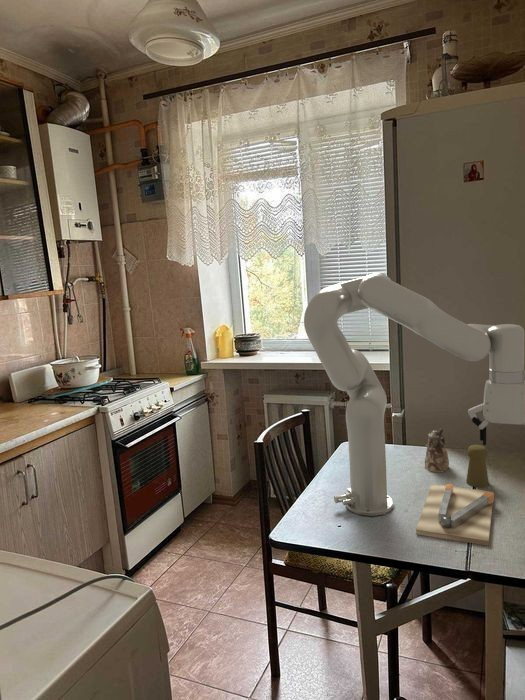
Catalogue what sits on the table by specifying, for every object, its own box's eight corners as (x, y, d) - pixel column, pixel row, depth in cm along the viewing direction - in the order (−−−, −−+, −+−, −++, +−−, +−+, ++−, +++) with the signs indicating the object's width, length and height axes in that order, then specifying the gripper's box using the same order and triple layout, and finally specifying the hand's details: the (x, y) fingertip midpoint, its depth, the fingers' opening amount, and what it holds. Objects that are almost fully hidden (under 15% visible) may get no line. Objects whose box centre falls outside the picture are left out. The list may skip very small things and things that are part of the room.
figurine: (419, 465, 165) (419, 429, 163) (438, 461, 167) (438, 425, 165) (434, 473, 158) (433, 435, 156) (453, 469, 160) (453, 431, 158)
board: (488, 545, 119) (488, 540, 119) (416, 534, 126) (415, 529, 126) (493, 495, 142) (493, 491, 142) (431, 488, 149) (431, 484, 149)
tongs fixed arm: (445, 522, 127) (445, 514, 127) (437, 521, 128) (437, 513, 128) (453, 491, 143) (453, 484, 142) (446, 490, 144) (446, 483, 143)
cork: (485, 489, 146) (485, 451, 144) (463, 484, 150) (463, 448, 148) (491, 480, 151) (491, 444, 149) (469, 476, 154) (469, 441, 152)
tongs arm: (451, 530, 124) (451, 522, 123) (439, 525, 126) (438, 517, 126) (494, 501, 136) (494, 493, 136) (482, 497, 138) (482, 489, 138)
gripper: (546, 373, 125) (545, 442, 128) (468, 372, 132) (468, 437, 135) (549, 381, 118) (547, 453, 121) (466, 379, 125) (467, 447, 128)
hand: (506, 444), depth 128 cm, fingers open, 9 cm apart
